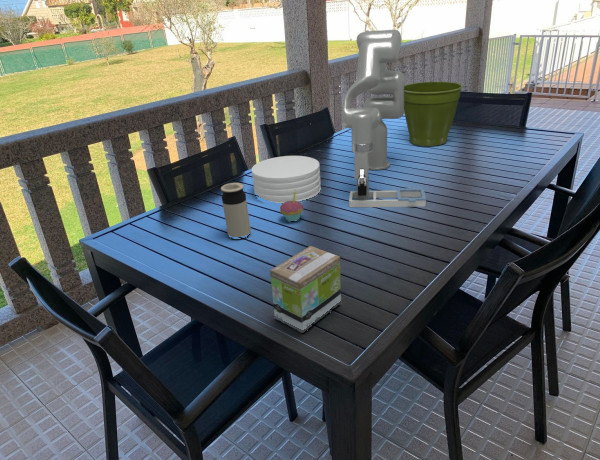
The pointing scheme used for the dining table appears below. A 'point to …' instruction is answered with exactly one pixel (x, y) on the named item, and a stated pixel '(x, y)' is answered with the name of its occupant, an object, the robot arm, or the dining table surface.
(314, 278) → the tea box
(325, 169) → the dining table surface
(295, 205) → the cupcake
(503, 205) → the dining table surface
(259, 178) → the plate stack
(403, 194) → the white ladder frame
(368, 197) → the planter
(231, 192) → the travel mug
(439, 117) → the plant pot
